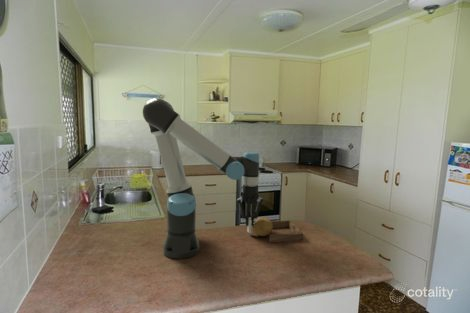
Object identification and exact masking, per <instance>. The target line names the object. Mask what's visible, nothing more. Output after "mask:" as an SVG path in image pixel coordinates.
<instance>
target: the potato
mask: <svg viewBox="0 0 470 313" xmlns="http://www.w3.org/2000/svg"><path fill="white" fill-rule="evenodd" d="M271 221H272V220H270V219H269V217H265V216H260V217H257V218H256V220H254V223H253V226H252V230H253V232H254V233H255V235H257V236H258V237H266V236H268V235H270V234H271V233H272V230H273V229H274V228H273V225H272V222H271Z"/></svg>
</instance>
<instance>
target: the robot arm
mask: <svg viewBox="0 0 470 313" xmlns="http://www.w3.org/2000/svg"><path fill="white" fill-rule="evenodd" d="M142 116H143V119H144V120H145V122H146V123H147V124H148V127H149V130H150V134H152V135H153V136H154V137H155V139H156V143H157V147H158V151H159V155H160V159H161V164H162V168H163V170H164V174H165V178H166V182H167V186H168V187H167V189H166V196H167V201H166V202H167V203H166V210H167V211H166V213H167V217H166V218H167V219H166V222H167V226H166V227H167V231H166V232H167V234H166V238H165V240H164V243H163V246H162V253H163V254H164V255H165V256H166V257H167V258H170V259H177V260H178V259H180V260H181V259H187V258H189V259H190V258H191V257H194V256H196V255H197V254H198V253H199V252H200V242H199V238H198V237H197V233H196V214H197V212H196V208H197V203H196V202H197V201H196V196H195V194H194V192H193V191H194V190H193V187H192V184H190V183H189V182H188V181H187V177H186V173H185V169H184V164H183V160H182V157H181V153H180V152H181V151H180V149H179V145H178V141H179V142H180V143H182V144H183V145H184V146H186V147H187V148H188V149H190V150H191V151H193V152H194V153H196V154H197V155H198V156H200V157H201V158H202V159H204V160H206V161H207V162H209V164H211V165H212V166H214V167H216V168H217V171H218V173H221V174H222V173H223V174H225V175H226V176H227V178H229V179H230V180H233V181H237V180H240V179H242V194H241V195H240V197H239V198H236V201H237V204H238V206H239V209H240V213H241V218H242V219H244V220H245V226H246V227H247V230H246V231H247V233H248V234H252V227H253V224H254V222H255V219H258V218H259V214H260V210H261V206H262V203H263V202H264V199H263V198H262V197H260V195H259V181H260V180H259V177H260V176H259V175H260V154H259V152H255V151H245V152H244V153H243V155H241V156H232V155H230V154H229V153H227V151H225V150H224V149H222V148H221V147H220V146H218V145H217V144H216V143H214V142H213V141H211V140H210V139H209V138H207V137H206V136H205V135H203V134H202V133H201V132H199V131H198V130H196V129H195V128H194V127H193V126H191V124H188V122H186V121H184V120H183V119H182V118H181V114H179V113H178V112H176V111H175V110H174V108H173V106H172V105H171V103H169V102H168V101H166V100H164V99H162V98H152V99H150V100H148V101H146V103H145V104H144V106H143V108H142ZM243 202H244V203H245V211H244V206H243ZM256 203H257V204H256ZM255 204H256V207H255Z"/></svg>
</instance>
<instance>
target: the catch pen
mask: <svg viewBox="0 0 470 313" xmlns="http://www.w3.org/2000/svg"><path fill="white" fill-rule="evenodd" d="M270 221H271V222H272V225H273V228H272V229H277V228H278V229H279V228H280V229H281V228H283V229H284V228H288V229H289V230H290V232H292V233H272V234H271V233H270V234H269V238H268V242H269V241H270V242H269V243H282V242H281V241H289V242H303V241H304V233H303V232H302V231H301V230H300V228H298V227H297V226H296V225H295V224H294V222H292V221H291V220H290V219H289V220H285V219H283V220H270Z"/></svg>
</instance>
